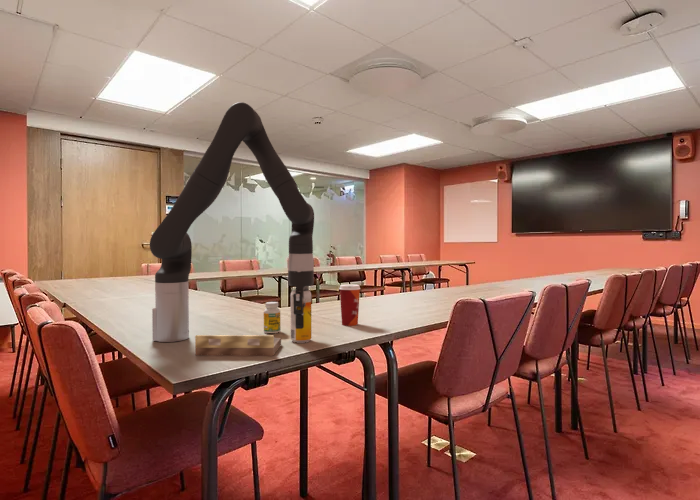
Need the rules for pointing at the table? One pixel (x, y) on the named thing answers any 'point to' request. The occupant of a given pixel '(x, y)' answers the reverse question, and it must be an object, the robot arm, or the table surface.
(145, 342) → the table surface
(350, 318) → the paper cup
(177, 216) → the robot arm
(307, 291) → the orange vitamin bottle
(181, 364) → the table surface
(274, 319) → the supplement bottle
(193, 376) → the table surface
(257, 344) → the tan wooden block
